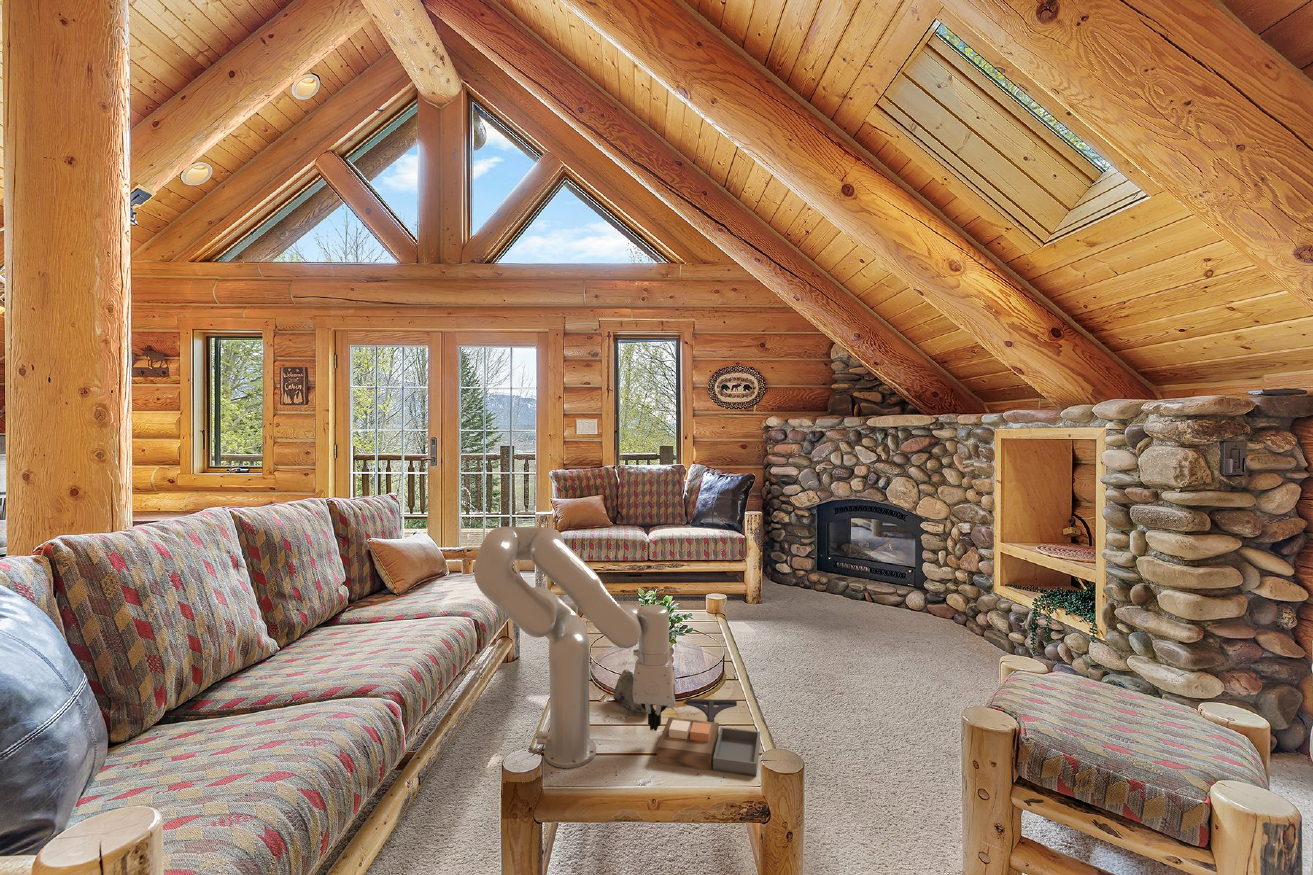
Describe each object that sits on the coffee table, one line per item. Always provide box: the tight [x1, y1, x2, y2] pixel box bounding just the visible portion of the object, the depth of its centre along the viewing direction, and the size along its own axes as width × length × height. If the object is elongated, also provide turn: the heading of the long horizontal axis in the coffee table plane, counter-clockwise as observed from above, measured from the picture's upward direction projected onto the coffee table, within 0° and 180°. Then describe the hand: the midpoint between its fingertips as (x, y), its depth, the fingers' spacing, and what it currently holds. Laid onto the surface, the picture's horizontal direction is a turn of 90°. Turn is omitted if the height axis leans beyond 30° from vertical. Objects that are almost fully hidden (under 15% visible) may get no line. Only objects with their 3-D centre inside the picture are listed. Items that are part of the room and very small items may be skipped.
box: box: [712, 726, 761, 777], centre depth 148 cm, size 10×14×3 cm
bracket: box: [685, 698, 738, 722], centre depth 167 cm, size 14×15×3 cm
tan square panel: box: [656, 716, 720, 771], centre depth 150 cm, size 13×14×4 cm
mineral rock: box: [613, 669, 647, 714], centre depth 171 cm, size 13×11×10 cm
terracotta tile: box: [690, 722, 711, 742], centre depth 149 cm, size 4×4×2 cm
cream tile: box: [669, 720, 690, 739], centre depth 151 cm, size 4×4×2 cm
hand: (654, 727), depth 152 cm, fingers closed
